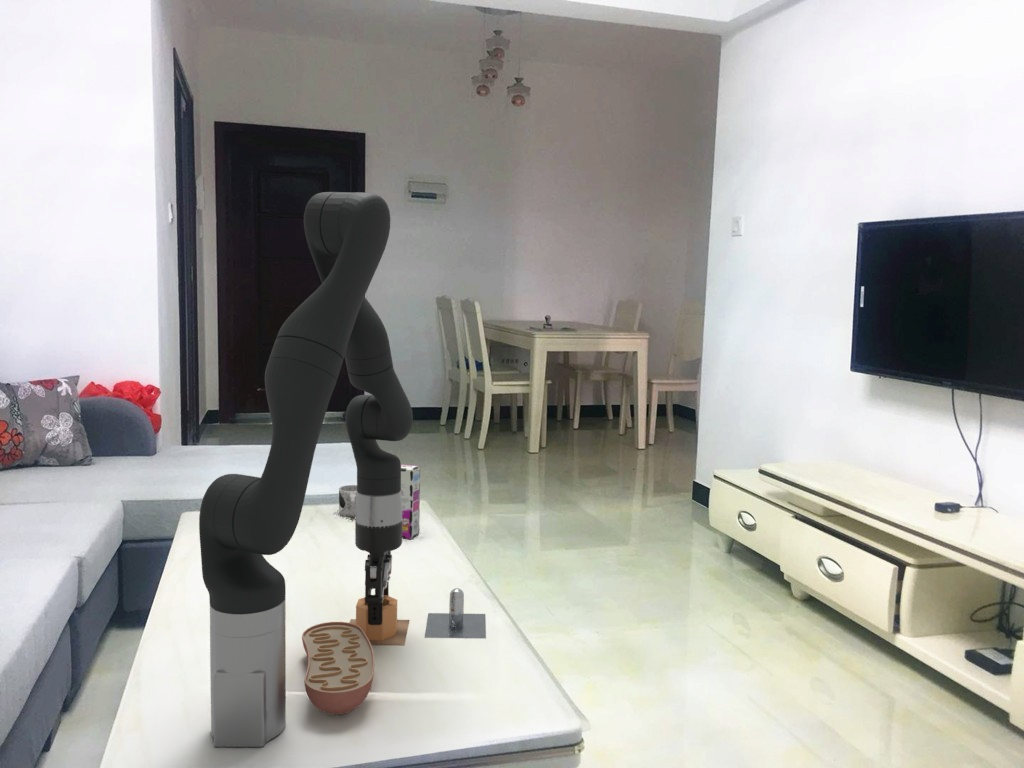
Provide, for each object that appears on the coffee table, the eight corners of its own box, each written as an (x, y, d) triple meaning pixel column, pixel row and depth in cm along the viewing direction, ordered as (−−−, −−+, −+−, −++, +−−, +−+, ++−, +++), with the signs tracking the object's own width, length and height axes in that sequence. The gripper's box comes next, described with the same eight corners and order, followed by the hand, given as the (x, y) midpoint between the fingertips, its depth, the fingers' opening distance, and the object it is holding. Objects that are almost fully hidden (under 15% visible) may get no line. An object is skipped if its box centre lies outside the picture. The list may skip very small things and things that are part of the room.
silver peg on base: (485, 644, 132) (487, 600, 132) (424, 643, 132) (425, 599, 131) (485, 619, 142) (486, 578, 141) (428, 618, 142) (428, 577, 141)
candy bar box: (420, 533, 191) (421, 465, 189) (411, 539, 186) (412, 469, 184) (377, 528, 194) (377, 461, 192) (367, 534, 189) (368, 465, 187)
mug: (338, 510, 209) (339, 485, 208) (365, 509, 210) (365, 484, 209) (338, 521, 199) (339, 495, 198) (366, 520, 200) (366, 494, 199)
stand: (404, 651, 129) (404, 608, 128) (340, 650, 128) (341, 608, 128) (409, 625, 139) (410, 586, 138) (350, 624, 138) (351, 585, 138)
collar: (394, 640, 130) (394, 610, 130) (354, 639, 130) (354, 609, 130) (398, 624, 137) (398, 595, 136) (359, 623, 136) (360, 594, 136)
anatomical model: (301, 654, 127) (301, 624, 126) (365, 648, 130) (365, 618, 129) (305, 731, 105) (305, 695, 105) (381, 723, 108) (382, 687, 107)
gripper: (397, 531, 124) (397, 632, 126) (406, 505, 139) (405, 596, 141) (348, 531, 124) (348, 631, 126) (362, 505, 138) (362, 596, 140)
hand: (378, 613), depth 133 cm, fingers open, 8 cm apart
